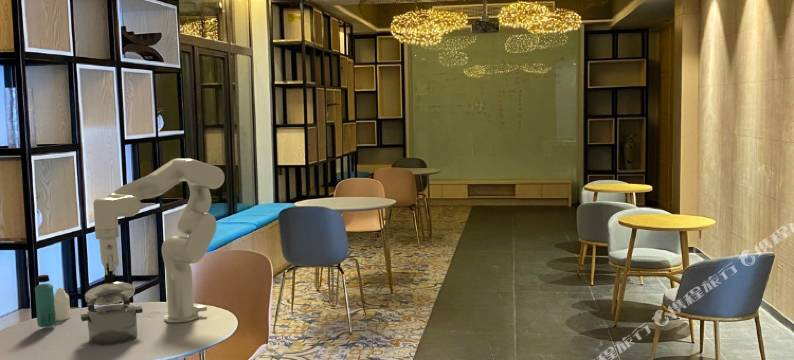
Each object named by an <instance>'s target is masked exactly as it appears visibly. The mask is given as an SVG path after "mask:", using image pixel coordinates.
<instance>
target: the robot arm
mask: <svg viewBox="0 0 794 360" xmlns="http://www.w3.org/2000/svg"><path fill="white" fill-rule="evenodd" d="M225 178H226V177H225V173H224V171H223V170H222V169H221V168H220V167H219V166H215V165H212V164H209V163H206V162H203V161H199V160H197V159H193V158H173V159H171V160H169V161H168V162H166V163H165V164H163V165H161V166H160V167H159V168H157V169H156V170H154V171H153V172H151V173H149V174H148V175H146V176H143V177H141V178H139V179H136V180H134V181H131V182H129V183H126V184H124V185H122V186H119V188H117V189H116V190H114V191H113V192H111V193H110V194H108V195H107V197H100V198H99V197H98V198H95V199H94V201H93V220H94V231H95V236H94V237H95V239H96V240H99V255H100V262H101V264H102V266H103V268H104V284H107V283H113V282H116V273H115V266H116V267H119V266H120V263H119V253H118V250H119V249H118V244H117V243H118V242H117V238H119V237H120V235H119V234H120V233H119V218H121V217H123V218H124V217H125V218H128V217H134V216H135V215H137V214H139V213H140V211H141V208H142V203H141V201H142V200H145V199H151V198H152V199H153V198H156V197H159V196H162V195H164V194H165V193H166V192H167V191H169V190H171V189H172V188H173V187H175V186H176V185H178V184H180V183H182V182H186V183H187V185H188V188H189V199H188V201H187V202H186V203H187V204H186V205H185V207H184V209H183V211H182V213H181V215H180V217H179V219H178V221H177V226H176V227H177V231H178V232H179V233H180V234H182V235H185V236H182V235H173V236H169V237H167V238H165V240H164V241H163V242H162V245H161V256H162V259H163V263H164V269H165V270H164V271H165V283H166V299H167V300H166V301H167V313H168V314H166V315H164V316H163V320H164V321H165V322H167V323H173V324H175V323H176V324H177V323H188V322H191V321H195V320H196V319H198V318H199V312H206V311H208V309H207V305H195V304H194V287H193V285H194V284H193V272H192V271H193V270H192V266H191V264H192V265H194V264H198V263H199V262H201V260H202V259H203V258H204V256H205V255H206V253H207V251H208V249H209V247H210V245H211V242H212V241H213V238H214V237H215V234H216V231H217V220H216V218H215V216H214V215H213V214H211V213H209V211H210V208H211V205H212V196H211V192H210V190H216V189H218V188H220V187H221V186H222V185H223V184H224V182H225ZM186 236H187V237H186Z"/></svg>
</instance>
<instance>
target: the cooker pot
mask: <svg viewBox="0 0 794 360" xmlns="http://www.w3.org/2000/svg"><path fill="white" fill-rule="evenodd" d="M142 313H144V312H143V307H142V306H141V305H139V306H135V305H133V304H131V302H130V298H128V299H127V300H124V301H122V303H120V304H119V303H115V304H109V305H100V306H98V307H95V305H93V304H89V303H87V312H86V313H83V314H80V320H81V322H87V329H88V340H89V341H88V342H89V343H90V344H91V343H92V345H95V344H96V345H95V346H114V345H120V344H123V343H127V342H131V341H132V340H135V339H136V338H137V337H138V335H139V333H138V323H137V322H138V320H137V314H142Z"/></svg>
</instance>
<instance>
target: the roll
mask: <svg viewBox="0 0 794 360" xmlns="http://www.w3.org/2000/svg"><path fill="white" fill-rule="evenodd" d="M54 300H55V301H54V302H55V303H54V304H55V311H56V322H57V321H59V322H60V321H65V320H69V319H71V308H70V307H71V306H70V305H71V304H70V294H68V293H66V291H65V289H64V288H62V287H59V288H57V289H56V291H55V293H54Z"/></svg>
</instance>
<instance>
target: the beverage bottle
mask: <svg viewBox="0 0 794 360" xmlns="http://www.w3.org/2000/svg"><path fill="white" fill-rule="evenodd" d="M36 279H37V280H36V282H37V283H38V285H36V287H34V293H35V294H34V295H35V306H36V307H35V310H36V311H35V312H36V321H37V322H36V323H37V326H38V327H40V328H47V327H52V326H55V325H56V323H57V320H56V311H55V304H54V303H55V302H54V301H55V300H54V295H55V293H54V286H53V285H52V284H50V283H47V282H49V281H50V276H49V275H48V274H42V275H38V276H37V277H36ZM39 283H41V284H39Z"/></svg>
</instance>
